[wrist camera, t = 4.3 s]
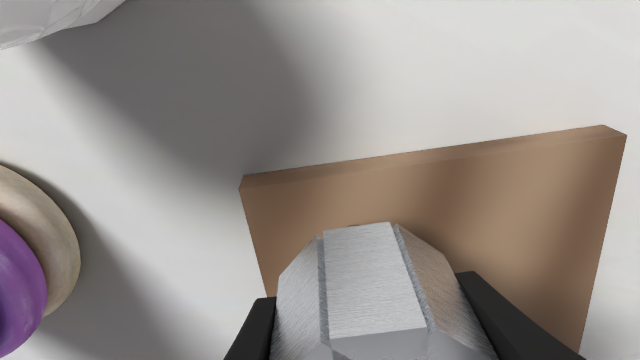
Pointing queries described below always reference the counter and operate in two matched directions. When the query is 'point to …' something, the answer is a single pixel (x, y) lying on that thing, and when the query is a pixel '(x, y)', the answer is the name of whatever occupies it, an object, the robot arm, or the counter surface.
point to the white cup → (47, 17)
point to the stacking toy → (32, 258)
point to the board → (463, 213)
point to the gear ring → (374, 301)
